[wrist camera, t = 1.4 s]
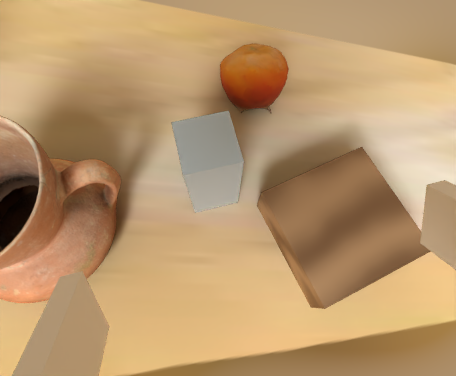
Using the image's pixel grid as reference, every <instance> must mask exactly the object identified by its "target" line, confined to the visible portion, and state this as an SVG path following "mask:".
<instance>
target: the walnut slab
mask: <svg viewBox="0 0 456 376" xmlns="http://www.w3.org/2000/svg"><path fill="white" fill-rule="evenodd" d="M257 206H258V208H259V210H260V212H261V214H262V216H263V218H264V220H265V222H266V223H267V225H268V227H269V229H270V231H271V233H272V235H273V237H274V239H275V240H276V242H277V244H278V246H279V248H280V250H281V252H282V254H283V256H284V257H285V259H286V261H287V263H288V265H289V267H290V269H291V271H292V272H293V274H294V276H295V278H296V280H297V282H298V284H299V286H300V288H301V289H302V291H303V293H304V295H305V297H306V299H307V301H308V303H309V305H310V306H311V307H313V308H324V309H325V308H327V307H329V306H331V305H333V304H335V303H336V302H338V301H340V300H342V299H344V298H346V297H347V296H349V295H351V294H353V293H355V292H357V291H359V290H360V289H362V288H364V287H366V286H368V285H370V284H371V283H373V282H375V281H377V280H379V279H381V278H382V277H384V276H386V275H388V274H390V273H392V272H393V271H395V270H397V269H399V268H401V267H403V266H404V265H406V264H408V263H410V262H412V261H414V260H416V259H417V258H419V257H421V256H423V255H425V254H427V253H428V252H430V250H429V249H427V248H426V247H425V246H423V245H422V244H421V243H420V239H421V231H420V229H419V228H418V227H417V225H416V224H415V222H414V221H413V219H412V218H411V217H410V215H409V214H408V212H407V211H406V209H405V208H404V206H403V205H402V204H401V202H400V201H399V199H398V198H397V196H396V195H395V194H394V192H393V191H392V189H391V188H390V186H389V185H388V184H387V182H386V181H385V179H384V178H383V176H382V175H381V174H380V172H379V171H378V169H377V168H376V166H375V165H374V164H373V162H372V161H371V159H370V158H369V156H368V155H367V153H366V152H365V151H364V149H363V148H362V147H360V148H358V149H356V150H354V151H351V152H349V153H347V154H345V155H343V156H340V157H338V158H336V159H334V160H332V161H329V162H327V163H325V164H323V165H321V166H318V167H316V168H314V169H312V170H310V171H307V172H305V173H303V174H301V175H299V176H296V177H294V178H292V179H290V180H288V181H285V182H283V183H281V184H279V185H277V186H274V187H272V188H270V189H268V190H266V191H264V192H262V193H261V196H260V199H259V202H258V205H257Z"/></svg>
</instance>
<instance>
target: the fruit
mask: <svg viewBox="0 0 456 376" xmlns="http://www.w3.org/2000/svg"><path fill="white" fill-rule="evenodd" d="M220 74H221V81H222V85H223V88H224V90H225V92H226V94H227V96H228V98H229V99H230V101H231V102H232V103H233V104H234V105H235V106H236V107H237V108H238V109H239V110H240V111H241V113H242V112H243V111H244V110H248V109H254V108H265V109H268V110H269V111H270V113H271V110H270V108H269V105H271V104H272V103H273V102H274V101H275V99H276V98H277V97H278V96H279V94H280V93H281V91H282V89H283V87H284V85H285V83H286V80H287V74H288V66H287V62H286V59H285V57H284V56H283V55H282V53H281V52H280V51H279V50H277V49H275V48H272V47H271V46H265V45H260V44H249V45H244V46H242V47H240V48H238V49H237V50H235V51H234V52H233V53H231V54H230V55H228V56H227V57H225V59H223V61H222V62H221V64H220Z"/></svg>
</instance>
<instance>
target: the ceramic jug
mask: <svg viewBox="0 0 456 376" xmlns="http://www.w3.org/2000/svg"><path fill="white" fill-rule="evenodd" d="M105 184H106V185H105ZM120 185H121V179H120V176H119V174H118V172H117V171H116V170H115V169H114V168H113V167H111V166H110V165H108V164H107V163H105V162H103V161H100V160H96V159H87V160H83V161H79V162H76V163H75V162H72V161H68V160H62V159H49V157H48V156H47V154H46V153H45V151H44V150H43V148H42V147H41V146H40V145H39V143H38V142H37V141H36V140H35V139H34V138H33V137H32V135H31V134H30V133H29V132H28V131H26V130H25V129H24V128H23V127H22V126H20V125H19V124H17V123H15V122H14V121H12V120H10V119H8V118H5V117H2V116H0V299H2V300H6V301H10V302H16V303H33V302H41V301H45V300H49V299H50V297H51V295H52V292H53V290H54V288H55V286H56V284H57V282H58V280H59V278H60V277H61V276H65V275H69V274H73V273H77V272H81V271H83V273H84V275H85V277H86V279H87V278H88V277H89V276H90V275H92V274H93V272H94V271H95V270H96V269H97V268H98V267H99V265H100V264H101V263H102V261H103V260H104V258H105V257H106V255H107V253H108V251H109V249H110V247H111V244H112V241H113V238H114V235H115V229H116V204H117V195H118V192H119V189H120Z"/></svg>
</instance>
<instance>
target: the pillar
mask: <svg viewBox="0 0 456 376" xmlns="http://www.w3.org/2000/svg"><path fill="white" fill-rule="evenodd" d="M171 123H172V127H173V132H174V136H175V141H176V145H177V150H178V155H179V159H180V164H181V168H182V173H183V177H184V180H185V183H186V186H187V189H188V192H189V195H190V198H191V201H192V204H193V207H194V210H195V213H196V212H200V211H204V210H208V209H213V208H217V207H221V206H225V205H229V204H233V203H238V199H239V192H240V185H241V178H242V172H243V165H244V160H243V157H242V153H241V150H240V147H239V143H238V140H237V137H236V133H235V130H234V127H233V123H232V120H231V116H230V113H229V111H224V112H219V113H214V114H209V115H205V116H200V117H195V118H190V119H185V120H181V121H176V122H171Z"/></svg>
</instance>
